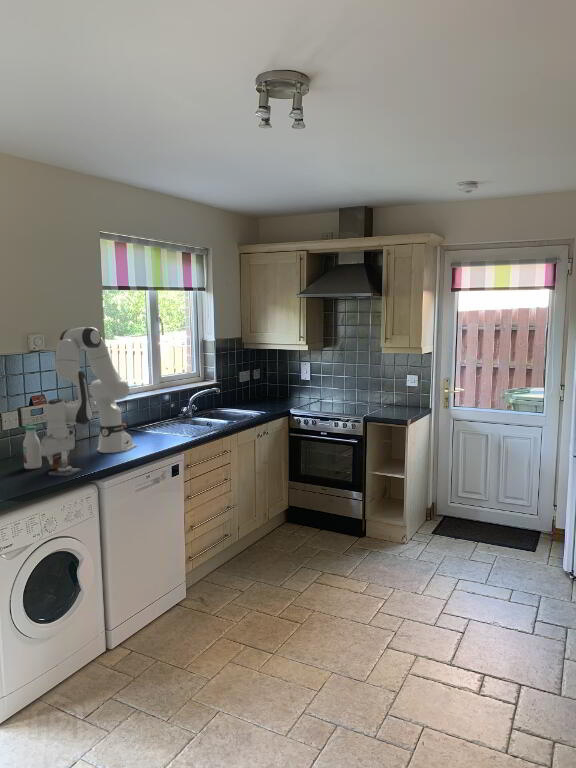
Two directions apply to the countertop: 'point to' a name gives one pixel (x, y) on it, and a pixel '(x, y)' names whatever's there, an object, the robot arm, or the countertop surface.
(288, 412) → the countertop surface
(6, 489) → the countertop surface
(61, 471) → the post
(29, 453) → the milk bottle
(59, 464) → the collar
